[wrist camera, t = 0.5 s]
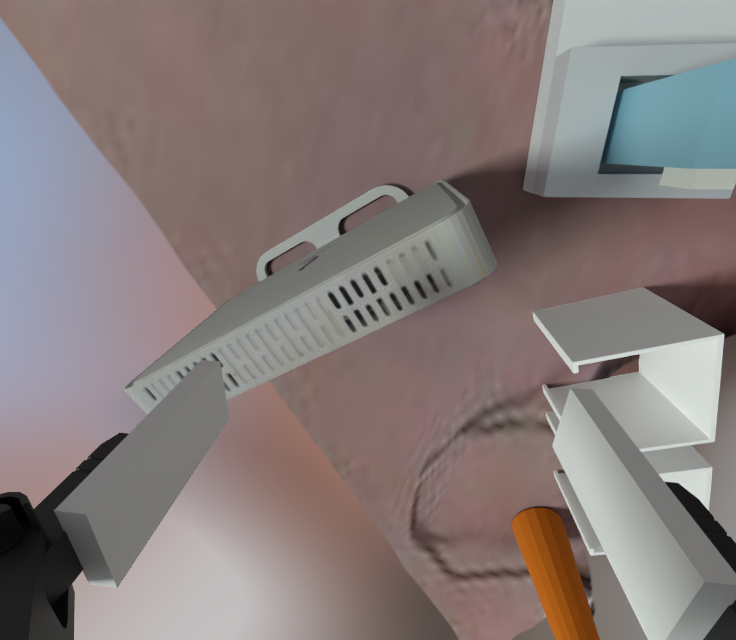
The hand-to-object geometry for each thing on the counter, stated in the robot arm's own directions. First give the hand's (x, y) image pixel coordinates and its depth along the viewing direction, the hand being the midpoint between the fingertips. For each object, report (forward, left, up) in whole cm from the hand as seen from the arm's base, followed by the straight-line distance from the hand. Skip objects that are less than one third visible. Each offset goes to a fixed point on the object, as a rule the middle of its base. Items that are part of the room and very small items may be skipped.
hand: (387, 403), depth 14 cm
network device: (+2, -6, -27) cm, 28 cm away
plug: (-10, +19, -24) cm, 32 cm away
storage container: (+18, +24, -28) cm, 40 cm away
